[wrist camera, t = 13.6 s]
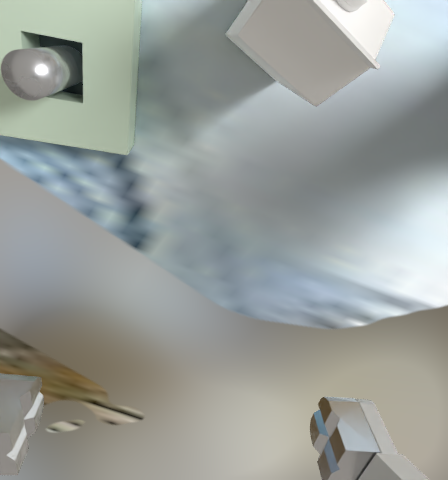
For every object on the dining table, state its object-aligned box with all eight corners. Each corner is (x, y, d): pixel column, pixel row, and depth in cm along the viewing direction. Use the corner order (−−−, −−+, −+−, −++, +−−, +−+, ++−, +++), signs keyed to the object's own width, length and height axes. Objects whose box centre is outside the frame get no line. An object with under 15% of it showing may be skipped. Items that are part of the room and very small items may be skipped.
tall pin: (86, 49, 35) (49, 54, 27) (86, 87, 37) (51, 104, 29) (48, 41, 35) (-3, 44, 26) (50, 81, 37) (4, 96, 28)
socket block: (142, -2, 34) (135, -6, 30) (134, 144, 40) (127, 155, 37) (-17, -36, 32) (-44, -45, 28) (2, 123, 38) (-17, 132, 35)
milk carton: (276, 82, 38) (333, 119, 21) (224, 34, 35) (243, 35, 19) (324, 20, 35) (431, 9, 19) (271, -36, 33) (341, -105, 16)
